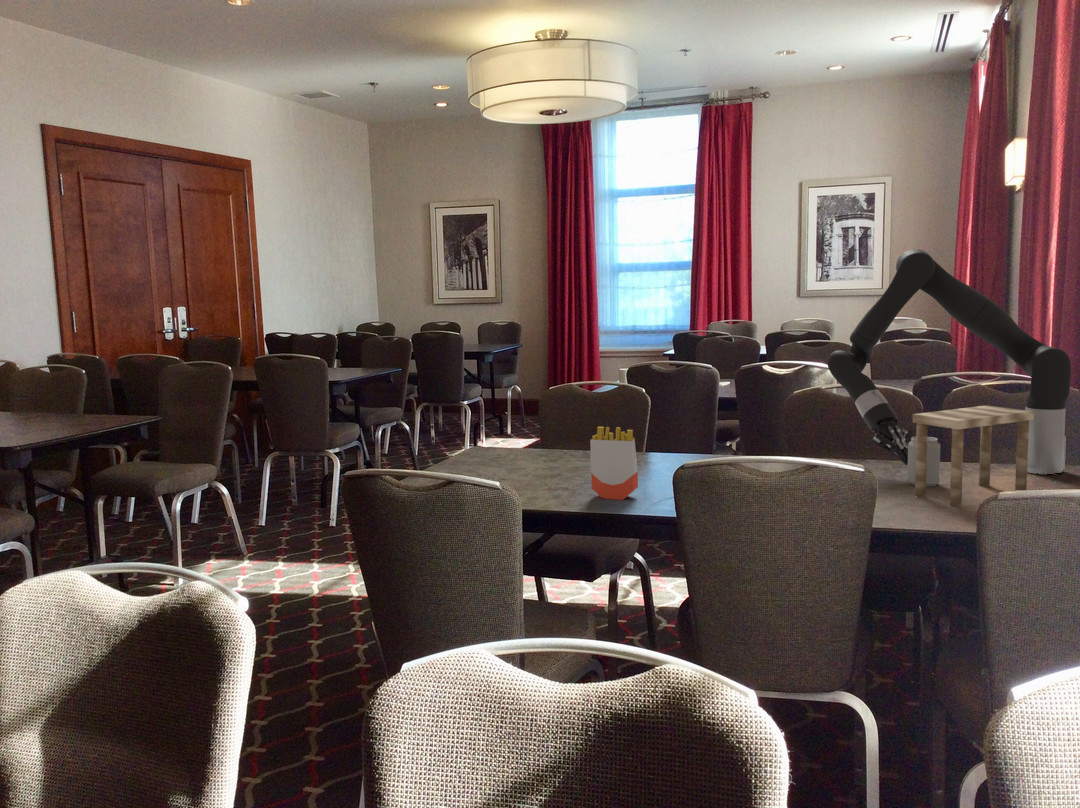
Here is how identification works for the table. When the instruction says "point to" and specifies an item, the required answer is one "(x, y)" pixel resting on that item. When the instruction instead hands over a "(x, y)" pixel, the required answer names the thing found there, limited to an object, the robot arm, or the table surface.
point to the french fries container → (613, 464)
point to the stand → (958, 423)
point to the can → (932, 461)
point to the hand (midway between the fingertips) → (910, 462)
